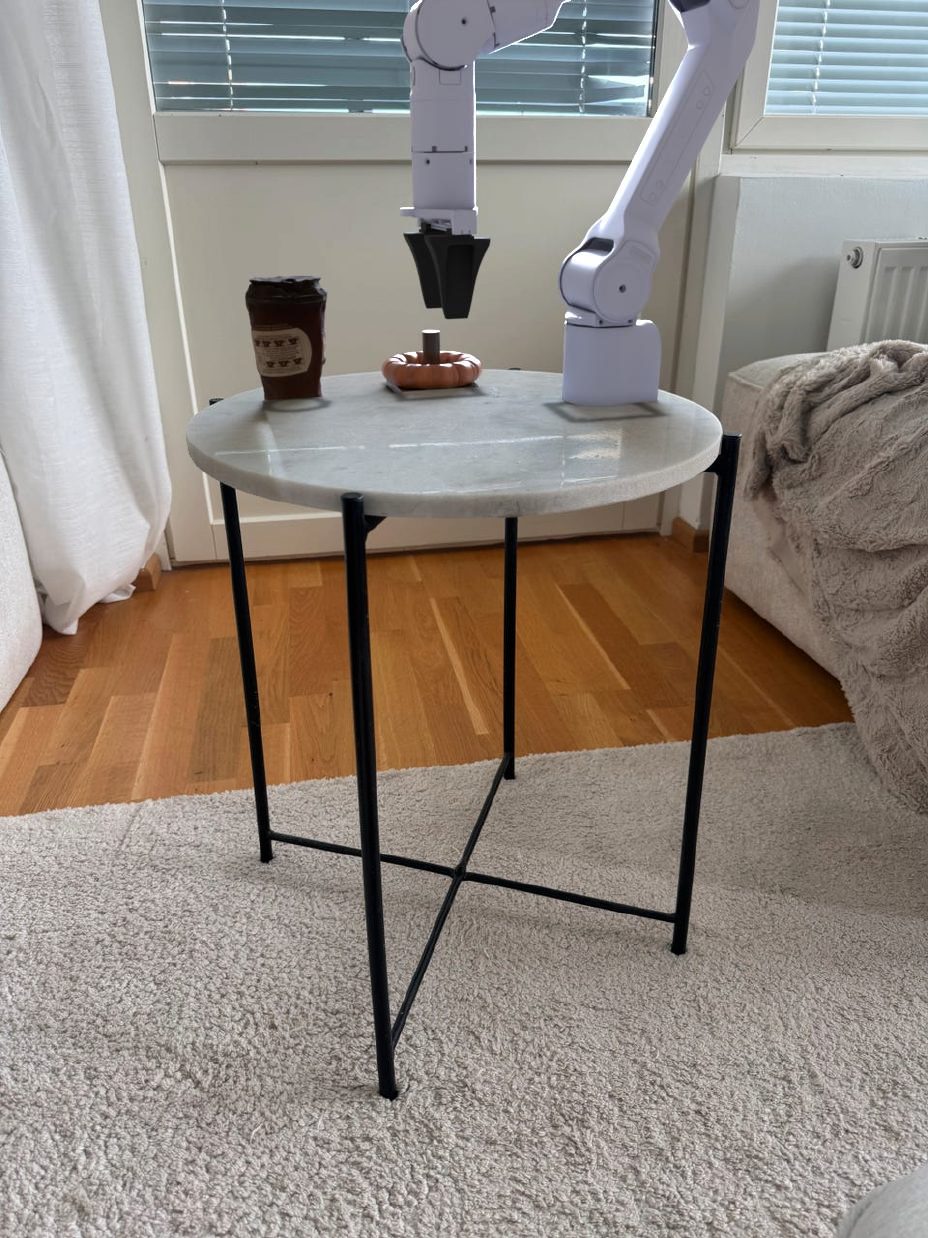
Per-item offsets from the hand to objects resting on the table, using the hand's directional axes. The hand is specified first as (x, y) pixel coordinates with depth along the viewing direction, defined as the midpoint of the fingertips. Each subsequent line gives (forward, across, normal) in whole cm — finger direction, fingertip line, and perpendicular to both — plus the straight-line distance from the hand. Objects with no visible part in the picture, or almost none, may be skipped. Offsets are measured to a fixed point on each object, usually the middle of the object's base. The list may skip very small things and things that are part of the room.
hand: (446, 312), depth 87 cm
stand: (+10, -15, +2) cm, 18 cm away
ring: (+8, -15, +2) cm, 17 cm away
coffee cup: (+11, -12, -14) cm, 21 cm away
